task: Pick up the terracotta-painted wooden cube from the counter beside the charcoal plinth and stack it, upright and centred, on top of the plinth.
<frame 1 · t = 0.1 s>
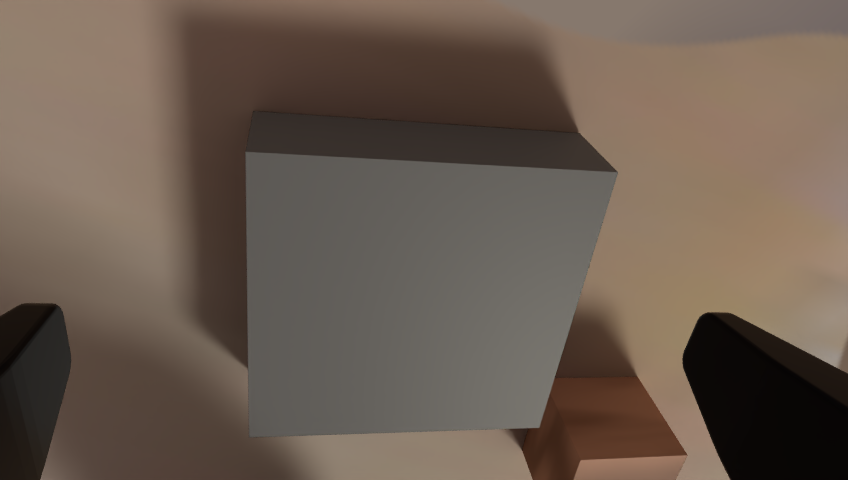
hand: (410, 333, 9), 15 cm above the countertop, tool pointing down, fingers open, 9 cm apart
cube: (577, 412, 33), on the countertop
plinth: (406, 262, 26), on the countertop
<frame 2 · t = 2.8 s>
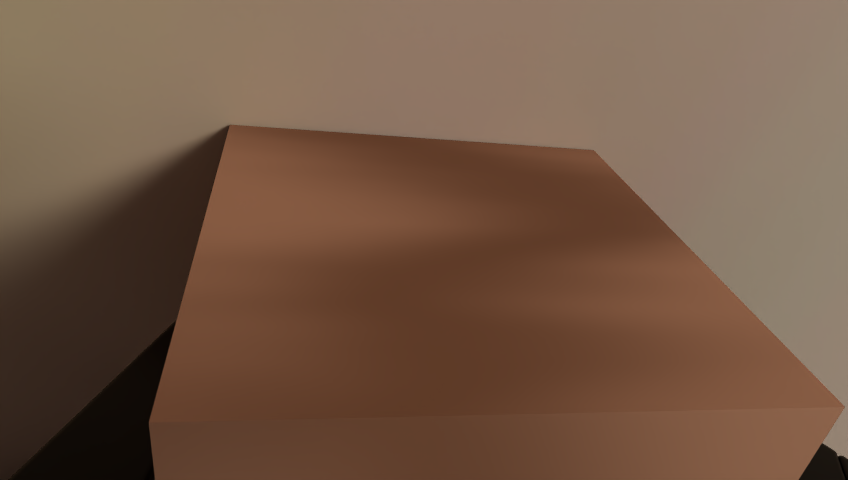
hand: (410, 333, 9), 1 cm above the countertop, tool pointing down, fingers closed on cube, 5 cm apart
cube: (400, 290, 10), on the countertop, touching gripper
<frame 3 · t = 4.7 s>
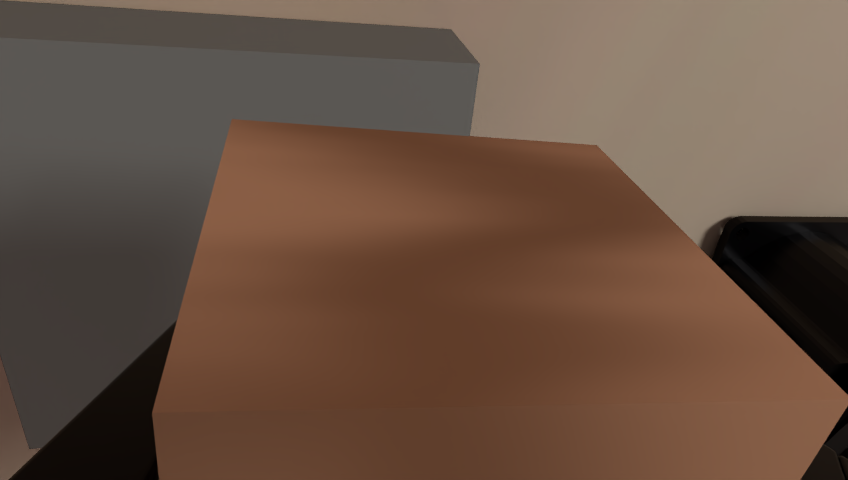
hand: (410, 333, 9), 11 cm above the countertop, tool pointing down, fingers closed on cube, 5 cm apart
cube: (402, 285, 10), point 10 cm above the countertop, touching gripper
plinth: (240, 215, 20), on the countertop
when the fingers open (6 cm above the countertop, at t = 6.6 s): cube drops 2 cm, resting on plinth.
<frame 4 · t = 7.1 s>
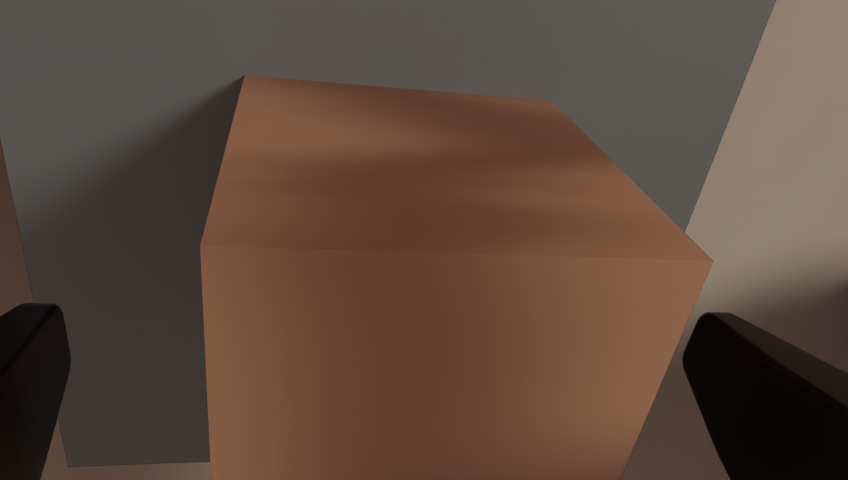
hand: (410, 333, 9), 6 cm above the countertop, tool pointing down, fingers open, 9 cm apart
cube: (389, 224, 11), point 3 cm above the countertop, touching plinth
plinth: (368, 150, 14), on the countertop
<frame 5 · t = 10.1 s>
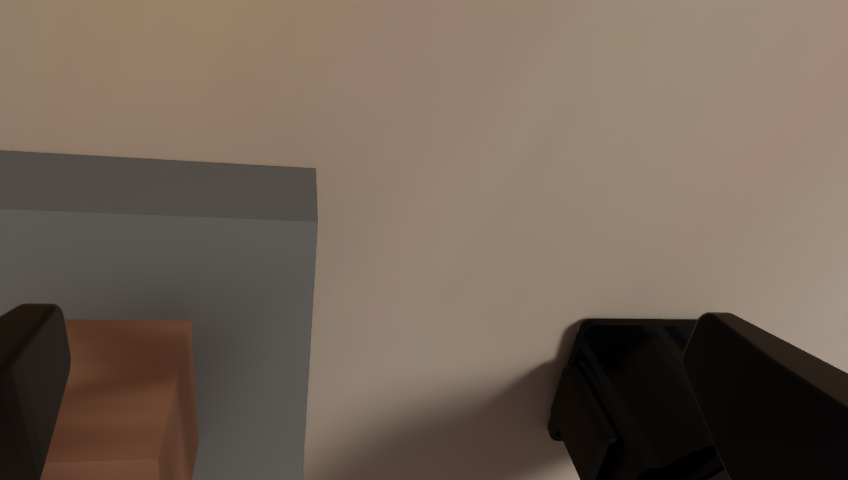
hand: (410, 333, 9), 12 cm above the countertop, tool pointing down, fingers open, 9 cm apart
cube: (107, 385, 19), point 3 cm above the countertop, touching plinth
plinth: (132, 316, 22), on the countertop
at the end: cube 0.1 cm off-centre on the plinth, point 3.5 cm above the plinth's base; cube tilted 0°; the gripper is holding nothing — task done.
